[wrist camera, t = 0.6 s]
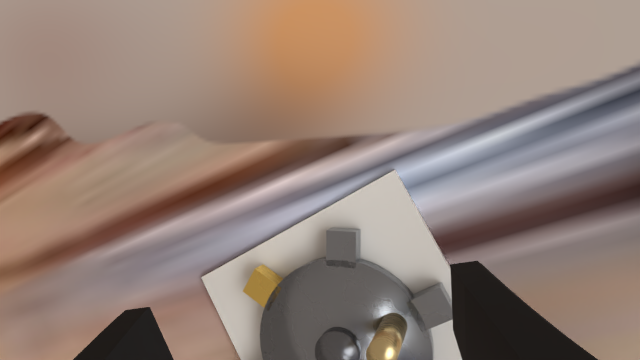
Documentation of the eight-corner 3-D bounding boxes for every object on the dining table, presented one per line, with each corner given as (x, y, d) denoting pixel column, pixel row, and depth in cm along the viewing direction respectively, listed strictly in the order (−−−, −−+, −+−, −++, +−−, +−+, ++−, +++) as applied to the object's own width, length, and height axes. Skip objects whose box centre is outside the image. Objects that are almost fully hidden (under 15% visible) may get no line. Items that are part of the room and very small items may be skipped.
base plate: (532, 413, 29) (533, 418, 28) (305, 484, 35) (303, 489, 34) (395, 169, 31) (394, 169, 30) (204, 276, 37) (201, 277, 36)
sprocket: (509, 403, 28) (520, 467, 23) (302, 471, 34) (268, 537, 28) (393, 194, 30) (375, 203, 24) (214, 290, 36) (165, 316, 30)
